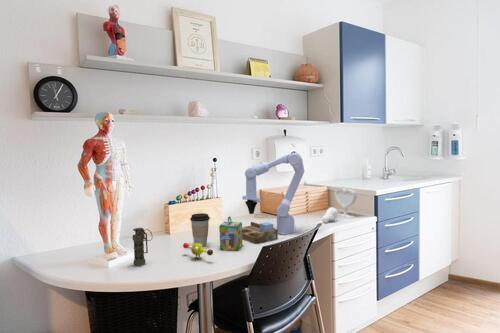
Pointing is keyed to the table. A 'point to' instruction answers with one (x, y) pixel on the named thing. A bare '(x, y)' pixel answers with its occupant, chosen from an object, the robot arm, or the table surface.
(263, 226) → the block
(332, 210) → the penguin figurine
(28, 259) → the table surface
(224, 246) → the green printed box
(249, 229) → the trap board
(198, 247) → the toy figure
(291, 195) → the robot arm
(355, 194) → the heart sculpture
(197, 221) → the coffee cup
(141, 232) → the grenade
